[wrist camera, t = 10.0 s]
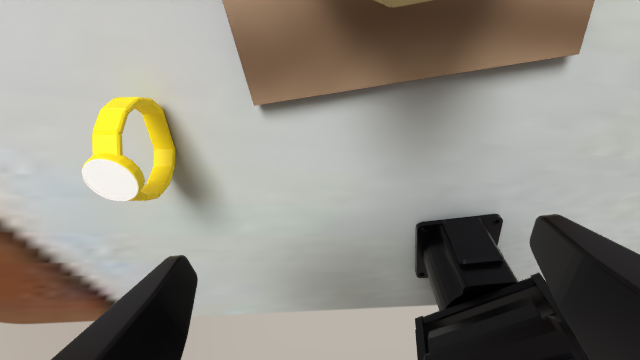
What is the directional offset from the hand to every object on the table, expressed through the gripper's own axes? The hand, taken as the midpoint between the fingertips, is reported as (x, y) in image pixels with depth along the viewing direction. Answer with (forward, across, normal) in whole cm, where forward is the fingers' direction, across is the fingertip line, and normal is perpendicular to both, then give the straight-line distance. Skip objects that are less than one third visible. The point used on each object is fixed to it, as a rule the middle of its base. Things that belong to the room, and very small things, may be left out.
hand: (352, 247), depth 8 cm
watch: (+13, +12, +1) cm, 18 cm away
